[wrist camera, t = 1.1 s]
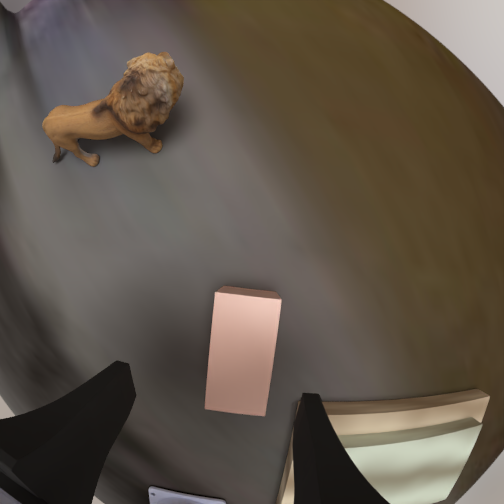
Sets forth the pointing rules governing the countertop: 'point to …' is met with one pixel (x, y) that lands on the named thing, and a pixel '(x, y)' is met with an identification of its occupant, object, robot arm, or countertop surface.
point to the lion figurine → (120, 109)
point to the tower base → (390, 420)
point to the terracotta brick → (242, 350)
